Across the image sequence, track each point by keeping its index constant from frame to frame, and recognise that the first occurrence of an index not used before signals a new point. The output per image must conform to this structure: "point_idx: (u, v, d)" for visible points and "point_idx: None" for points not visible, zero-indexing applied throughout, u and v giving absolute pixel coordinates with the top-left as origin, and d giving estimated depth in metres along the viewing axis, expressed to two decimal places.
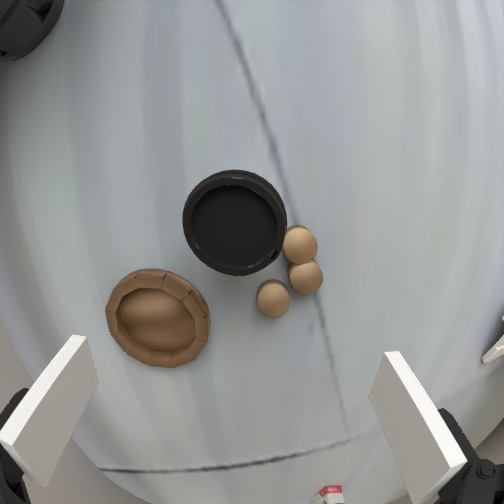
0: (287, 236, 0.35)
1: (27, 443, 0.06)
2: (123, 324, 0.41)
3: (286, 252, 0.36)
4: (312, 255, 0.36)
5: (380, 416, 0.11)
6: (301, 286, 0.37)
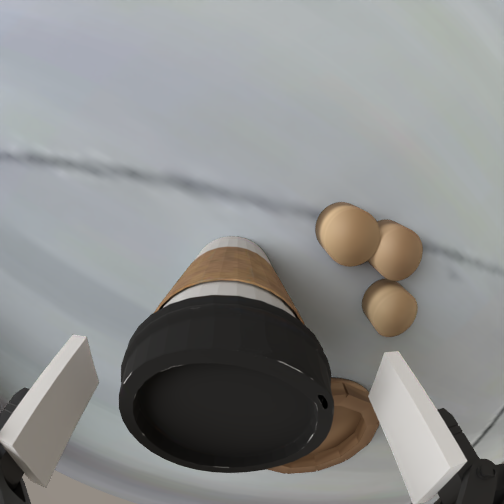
0: (324, 246, 0.20)
1: (27, 443, 0.06)
2: None
3: (346, 263, 0.20)
4: (375, 228, 0.19)
5: (380, 416, 0.11)
6: (403, 269, 0.20)
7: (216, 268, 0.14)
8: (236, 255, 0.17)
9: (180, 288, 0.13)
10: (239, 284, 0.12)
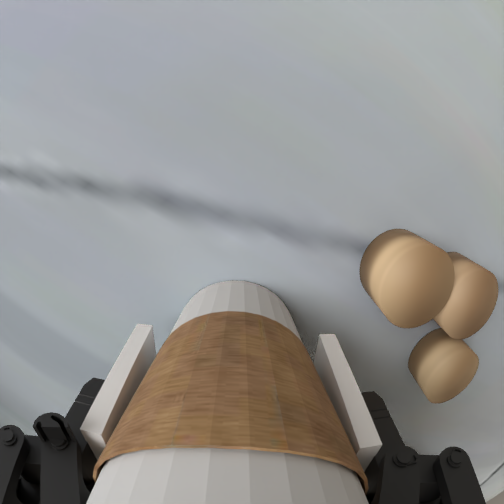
0: (378, 300, 0.13)
1: (112, 431, 0.07)
2: None
3: (405, 324, 0.12)
4: (450, 272, 0.12)
5: None
6: (473, 323, 0.13)
7: (205, 397, 0.06)
8: (244, 342, 0.09)
9: (132, 447, 0.05)
10: (254, 456, 0.05)
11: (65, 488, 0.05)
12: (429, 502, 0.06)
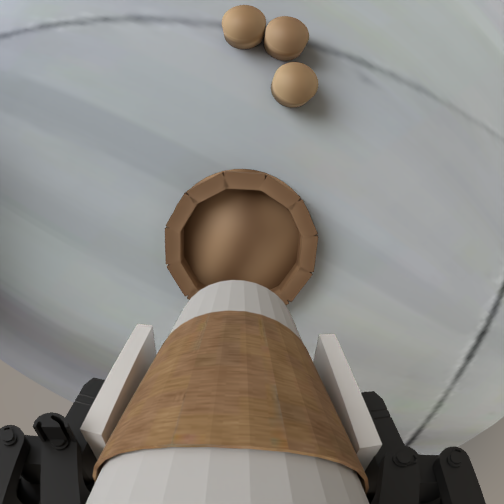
0: (223, 30, 0.22)
1: (112, 431, 0.07)
2: None
3: (239, 36, 0.22)
4: (260, 15, 0.21)
5: None
6: (292, 43, 0.22)
7: (205, 396, 0.06)
8: (244, 341, 0.09)
9: (132, 447, 0.05)
10: (254, 455, 0.05)
11: (65, 488, 0.05)
12: (429, 502, 0.06)
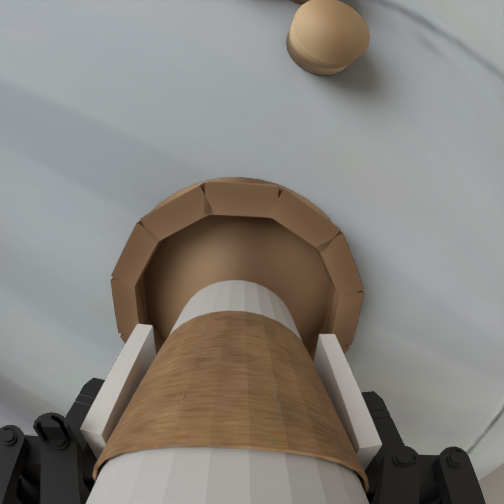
0: None
1: (112, 431, 0.07)
2: None
3: None
4: None
5: None
6: None
7: (205, 397, 0.06)
8: (244, 341, 0.09)
9: (132, 447, 0.05)
10: (254, 455, 0.05)
11: (65, 488, 0.05)
12: (429, 502, 0.06)
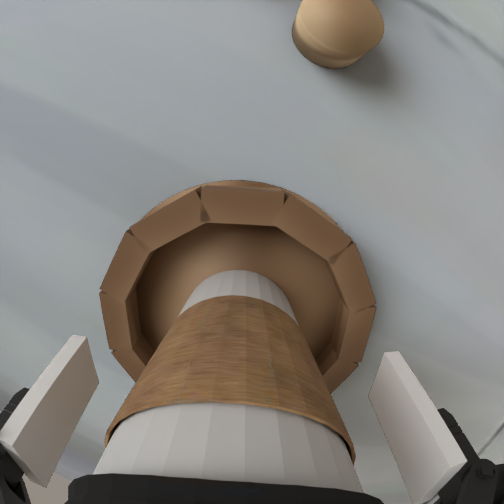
0: None
1: (27, 443, 0.06)
2: None
3: None
4: None
5: (380, 416, 0.11)
6: None
7: (209, 363, 0.07)
8: (244, 320, 0.10)
9: (144, 405, 0.06)
10: (249, 410, 0.06)
11: None
12: None
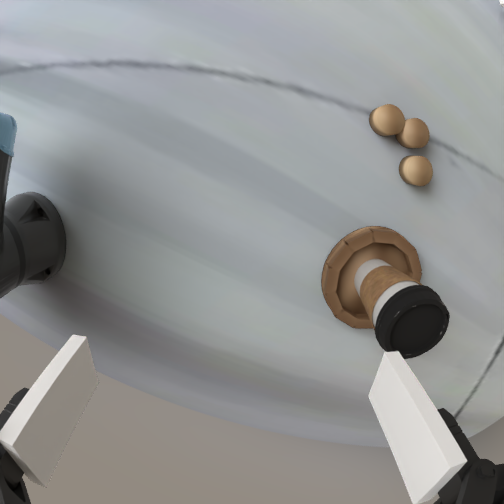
0: (377, 124, 0.33)
1: (27, 443, 0.06)
2: (355, 312, 0.43)
3: (389, 132, 0.33)
4: (401, 114, 0.32)
5: (380, 416, 0.11)
6: (420, 141, 0.33)
7: (398, 276, 0.32)
8: (395, 270, 0.34)
9: (392, 284, 0.30)
10: (412, 281, 0.30)
11: None
12: None
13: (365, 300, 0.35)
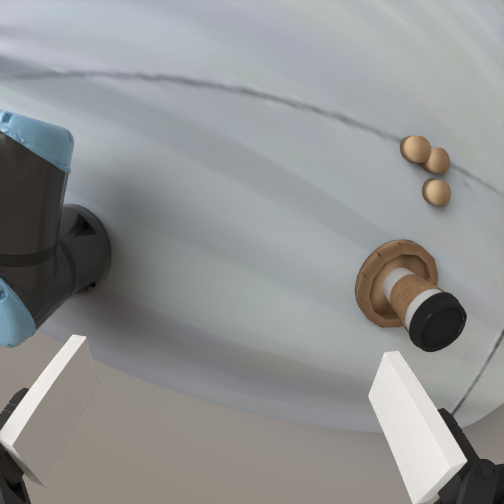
0: (408, 153, 0.38)
1: (27, 443, 0.06)
2: (381, 313, 0.48)
3: (418, 160, 0.38)
4: (428, 145, 0.37)
5: (380, 416, 0.11)
6: (442, 167, 0.38)
7: (425, 284, 0.37)
8: (421, 278, 0.39)
9: (421, 291, 0.36)
10: (436, 289, 0.35)
11: None
12: None
13: (397, 304, 0.40)
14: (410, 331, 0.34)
